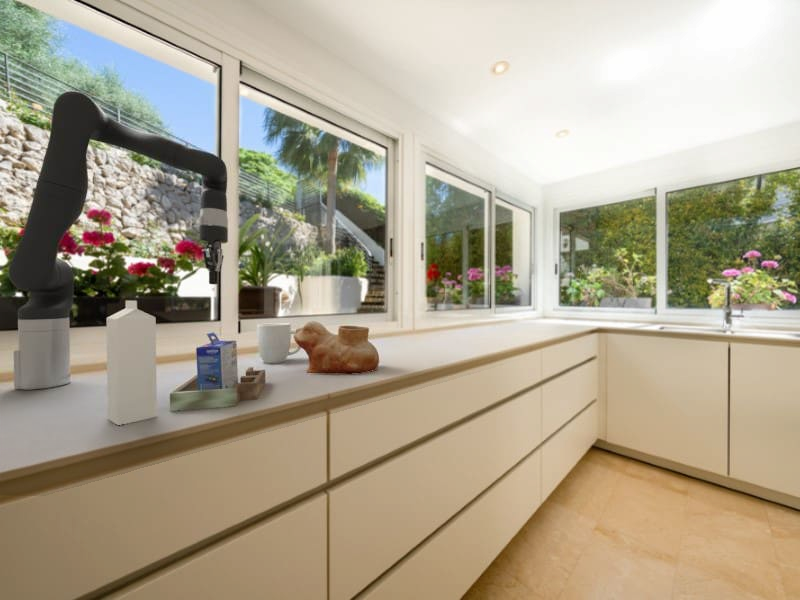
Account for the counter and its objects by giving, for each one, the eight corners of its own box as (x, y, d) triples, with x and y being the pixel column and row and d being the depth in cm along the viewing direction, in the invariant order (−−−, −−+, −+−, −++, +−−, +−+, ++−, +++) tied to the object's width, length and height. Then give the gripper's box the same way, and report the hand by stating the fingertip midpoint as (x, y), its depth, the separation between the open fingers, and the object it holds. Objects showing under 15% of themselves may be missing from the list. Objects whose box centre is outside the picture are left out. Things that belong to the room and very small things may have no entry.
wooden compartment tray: (170, 411, 69) (169, 393, 69) (204, 383, 91) (204, 369, 91) (254, 404, 73) (254, 387, 73) (267, 379, 95) (267, 366, 95)
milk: (145, 411, 69) (144, 300, 69) (157, 417, 66) (156, 300, 66) (106, 419, 65) (105, 300, 64) (117, 426, 61) (116, 300, 61)
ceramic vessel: (302, 365, 115) (301, 319, 115) (381, 365, 114) (381, 319, 113) (286, 374, 101) (286, 323, 101) (376, 375, 100) (376, 322, 100)
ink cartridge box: (214, 391, 83) (214, 331, 83) (239, 390, 84) (238, 330, 84) (195, 404, 73) (195, 335, 73) (223, 403, 74) (222, 335, 74)
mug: (301, 357, 129) (300, 322, 129) (303, 362, 119) (303, 324, 118) (257, 360, 124) (257, 323, 124) (256, 366, 113) (256, 325, 113)
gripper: (206, 229, 109) (206, 284, 110) (192, 220, 97) (192, 283, 97) (232, 230, 111) (232, 285, 111) (221, 222, 98) (221, 283, 99)
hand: (213, 284), depth 104 cm, fingers closed
